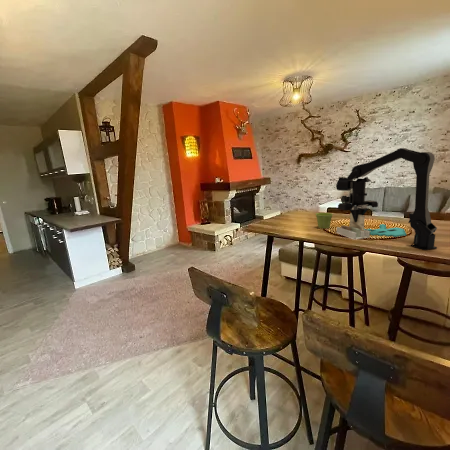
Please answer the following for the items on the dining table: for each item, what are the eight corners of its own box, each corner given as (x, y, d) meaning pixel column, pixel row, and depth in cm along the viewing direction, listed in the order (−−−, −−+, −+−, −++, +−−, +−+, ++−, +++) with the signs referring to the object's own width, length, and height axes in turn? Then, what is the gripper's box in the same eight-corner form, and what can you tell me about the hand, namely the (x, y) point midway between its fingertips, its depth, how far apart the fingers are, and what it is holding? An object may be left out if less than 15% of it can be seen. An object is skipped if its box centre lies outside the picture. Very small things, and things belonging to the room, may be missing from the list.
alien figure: (352, 232, 140) (383, 241, 121) (353, 228, 139) (384, 237, 120) (382, 227, 145) (416, 236, 126) (382, 224, 144) (417, 232, 125)
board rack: (370, 239, 125) (371, 231, 124) (353, 241, 123) (353, 233, 122) (351, 232, 138) (351, 225, 137) (335, 234, 136) (335, 227, 135)
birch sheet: (363, 235, 126) (364, 215, 124) (361, 235, 126) (362, 216, 124) (351, 231, 135) (352, 212, 133) (349, 231, 135) (350, 213, 133)
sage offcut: (359, 237, 126) (360, 229, 125) (357, 237, 125) (357, 229, 124) (351, 234, 131) (351, 226, 130) (349, 234, 131) (349, 226, 130)
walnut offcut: (350, 235, 129) (351, 227, 128) (348, 235, 129) (348, 228, 128) (343, 232, 135) (343, 225, 134) (340, 232, 134) (341, 225, 134)
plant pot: (314, 226, 154) (314, 212, 152) (330, 226, 152) (331, 212, 150) (316, 230, 146) (316, 215, 144) (333, 230, 144) (334, 215, 142)
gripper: (363, 188, 135) (361, 217, 139) (331, 191, 132) (330, 220, 135) (379, 190, 124) (377, 221, 128) (345, 193, 121) (344, 225, 125)
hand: (356, 222), depth 129 cm, fingers closed on birch sheet, 1 cm apart
